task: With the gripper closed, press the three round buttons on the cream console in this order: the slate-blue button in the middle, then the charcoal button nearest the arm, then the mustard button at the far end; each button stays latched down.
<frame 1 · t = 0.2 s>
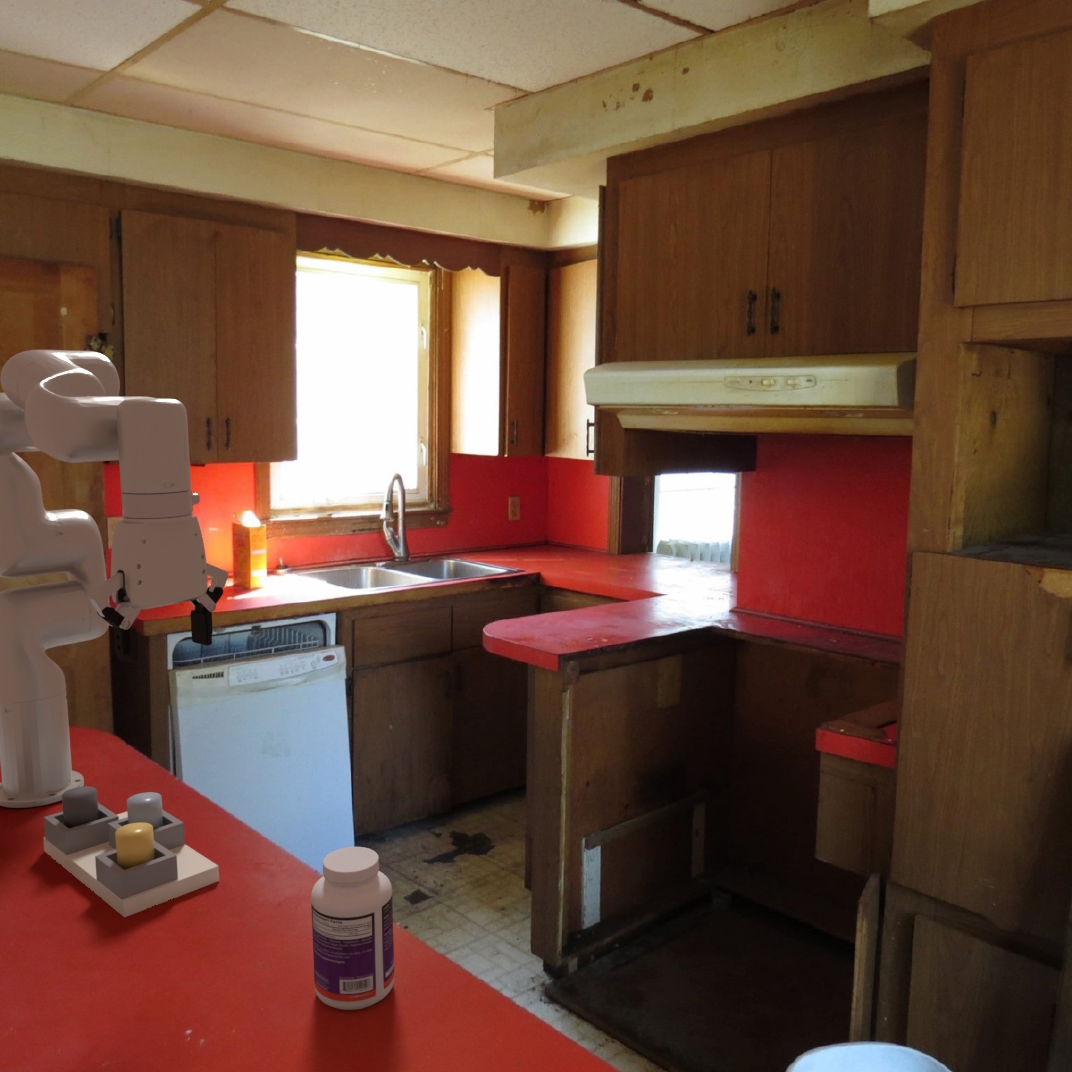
hand: (166, 652, 118), 30 cm above the kitchen counter, tool pointing down, fingers open, 9 cm apart
console: (129, 865, 129), on the kitchen counter
mustard button: (135, 845, 121), point 6 cm above the kitchen counter, slide at 0.0 cm
pill bottle: (354, 992, 103), on the kitchen counter
charcoal button: (80, 807, 132), point 6 cm above the kitchen counter, slide at 0.0 cm
slate button: (145, 813, 130), point 6 cm above the kitchen counter, slide at 0.0 cm
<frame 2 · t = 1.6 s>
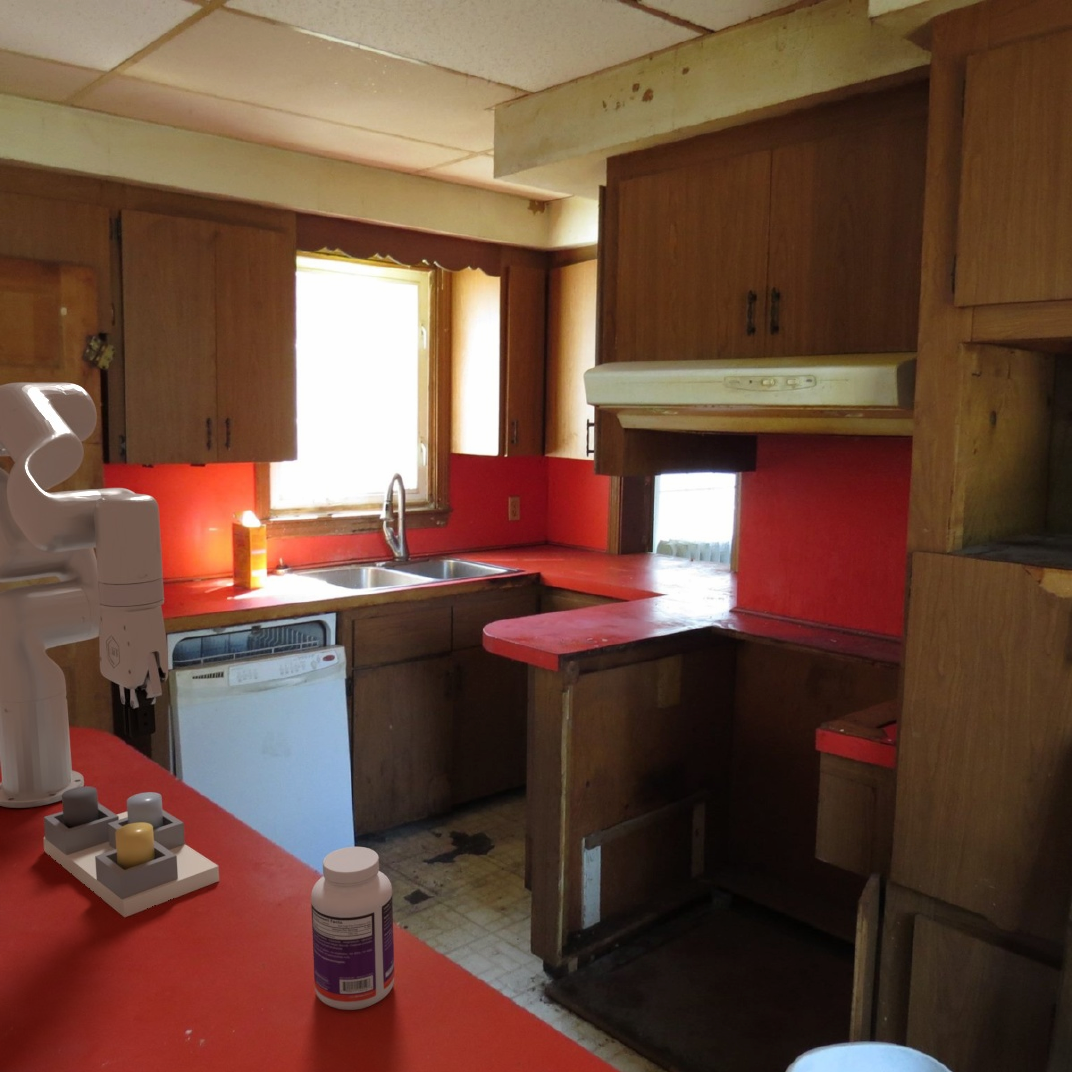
hand: (140, 733, 128), 17 cm above the kitchen counter, tool pointing down, fingers closed
nothing on the kitchen counter moved.
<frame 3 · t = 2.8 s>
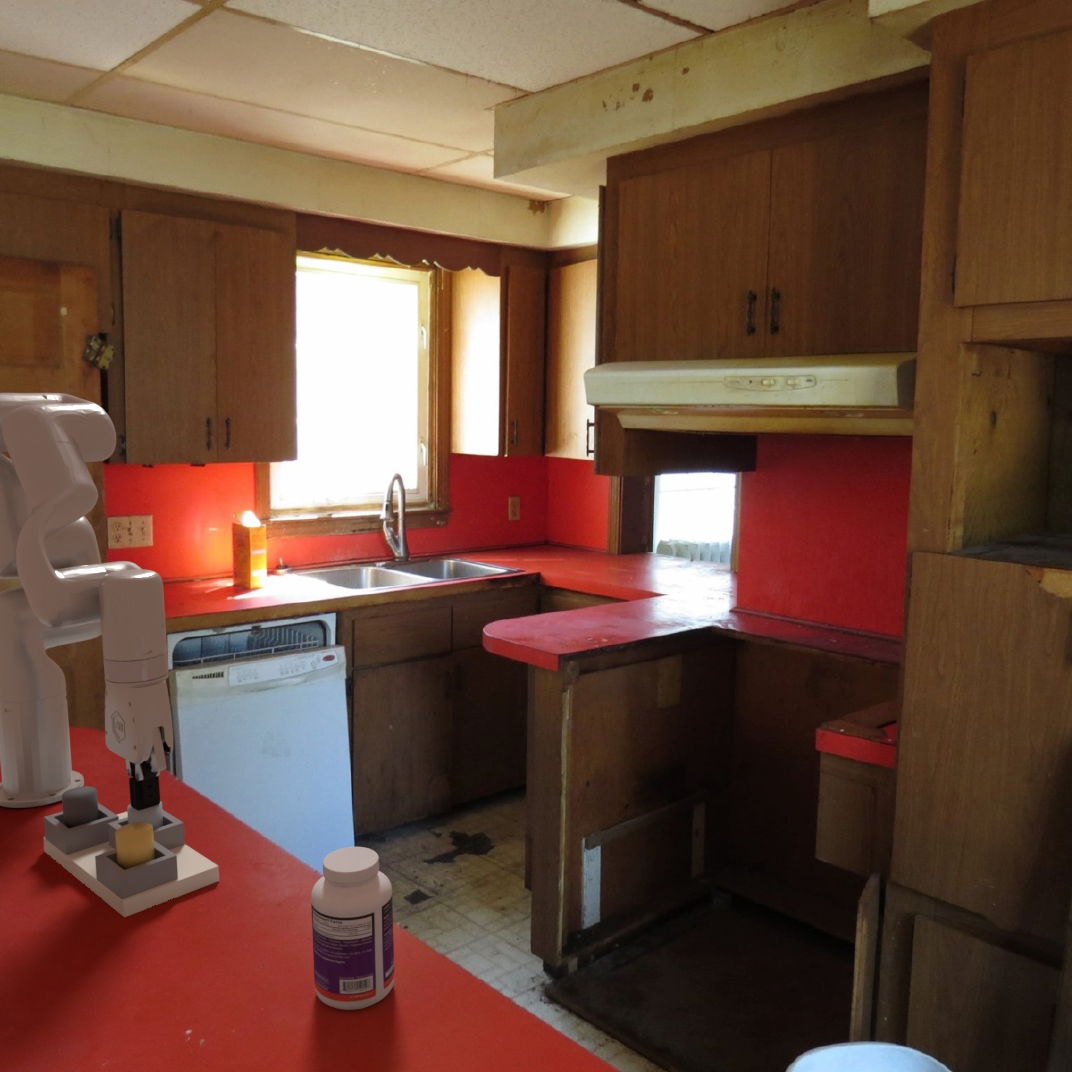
hand: (145, 805, 130), 7 cm above the kitchen counter, tool pointing down, fingers closed
slate button: (145, 819, 130), point 5 cm above the kitchen counter, slide at 0.9 cm, touching gripper
everything else where it was.
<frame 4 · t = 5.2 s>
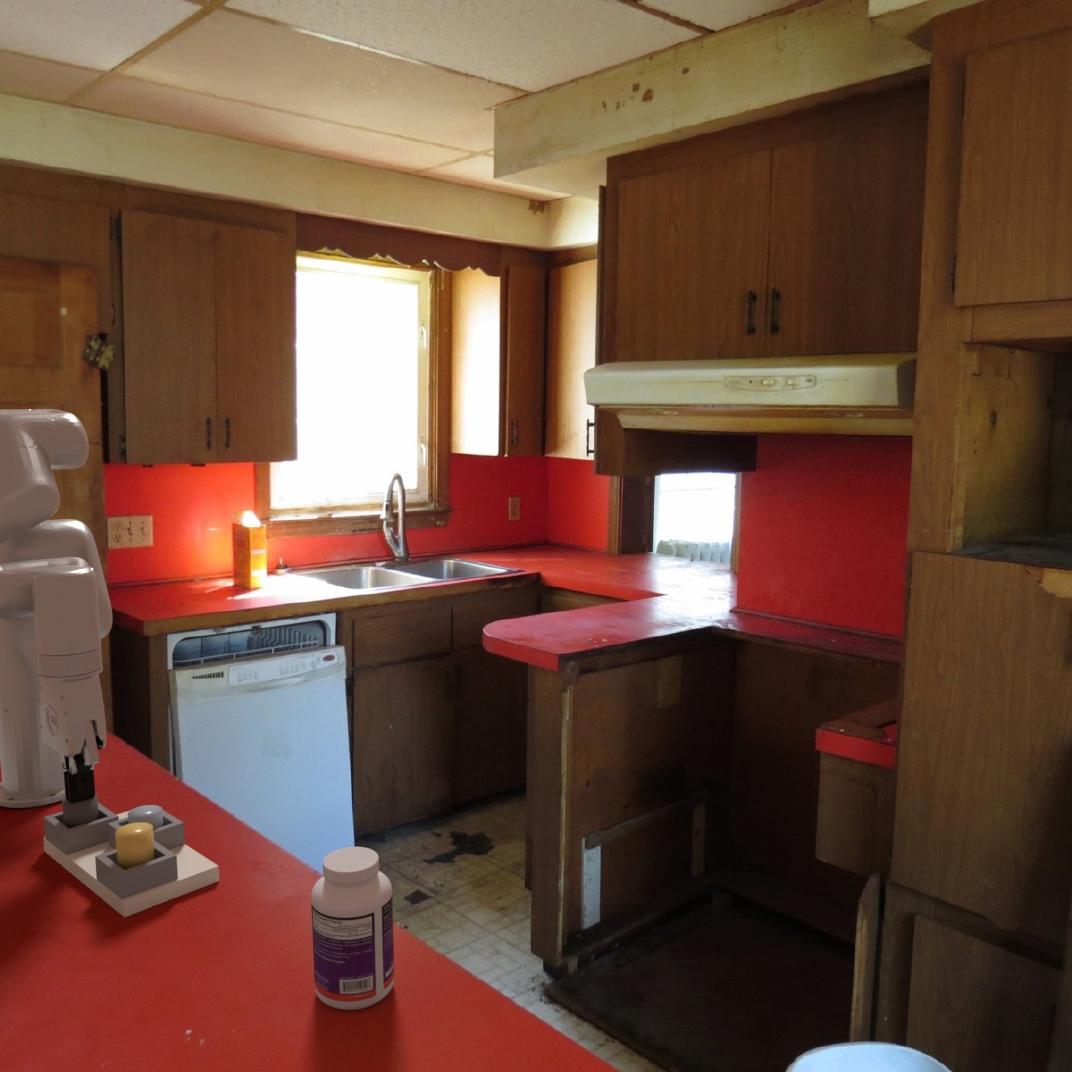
hand: (80, 798, 131), 8 cm above the kitchen counter, tool pointing down, fingers closed
charcoal button: (80, 812, 132), point 6 cm above the kitchen counter, slide at 0.7 cm, touching gripper
slate button: (145, 826, 130), point 5 cm above the kitchen counter, slide at 1.8 cm
everything else where it was.
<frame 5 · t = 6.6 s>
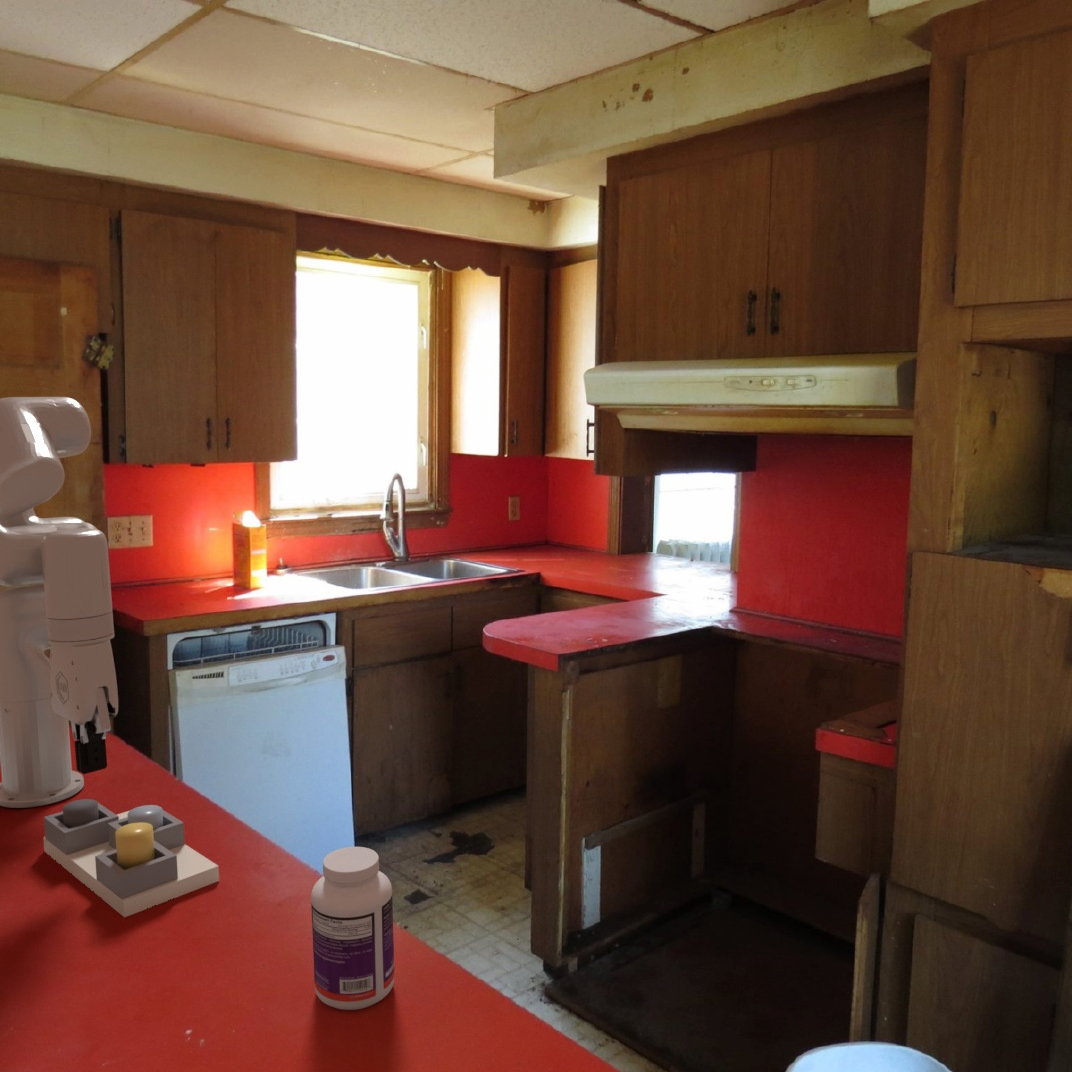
hand: (92, 769, 127), 13 cm above the kitchen counter, tool pointing down, fingers closed
charcoal button: (81, 820, 132), point 5 cm above the kitchen counter, slide at 1.8 cm
everything else where it was.
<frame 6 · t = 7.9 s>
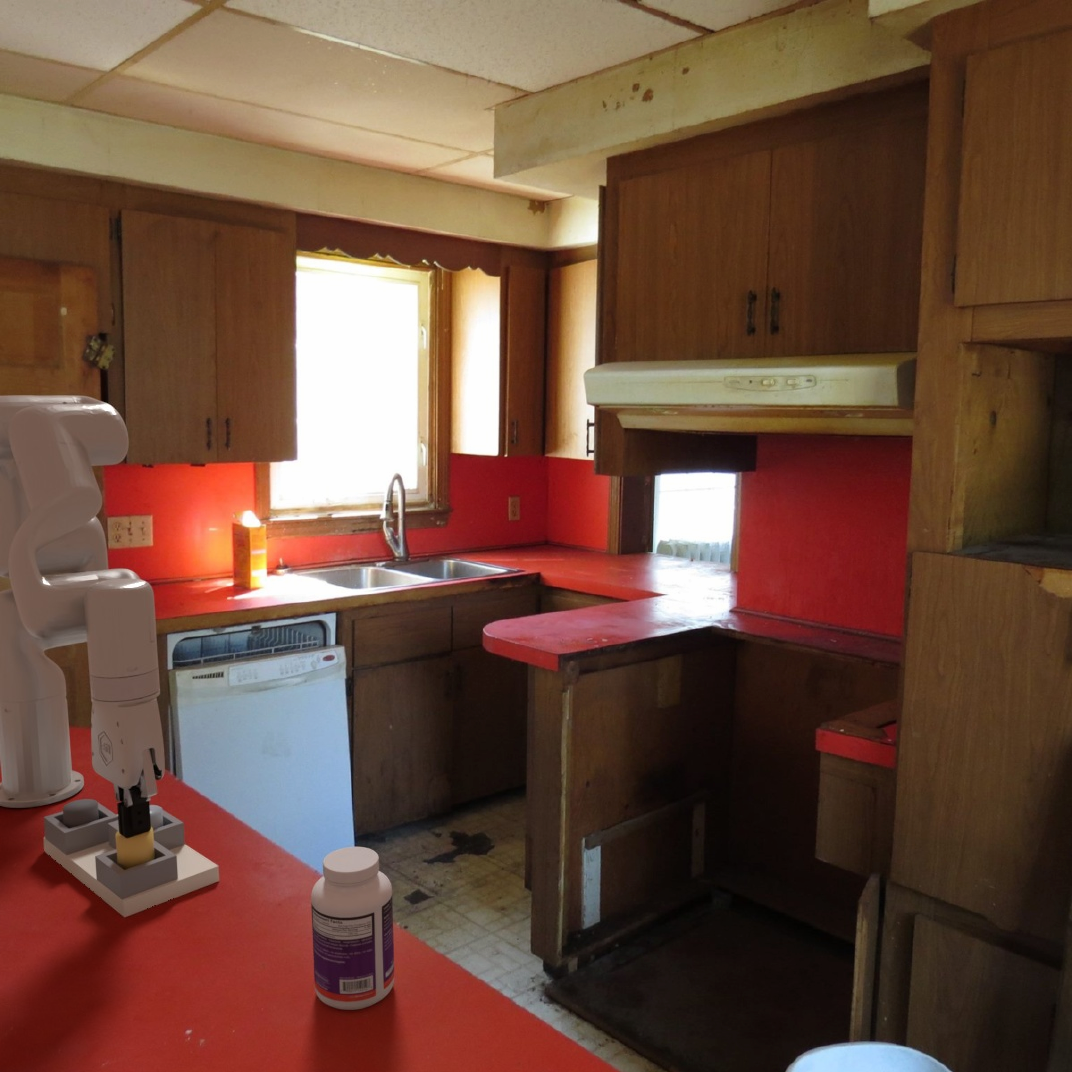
hand: (135, 832, 120), 8 cm above the kitchen counter, tool pointing down, fingers closed
mustard button: (135, 847, 121), point 6 cm above the kitchen counter, slide at 0.3 cm, touching gripper
everything else where it was.
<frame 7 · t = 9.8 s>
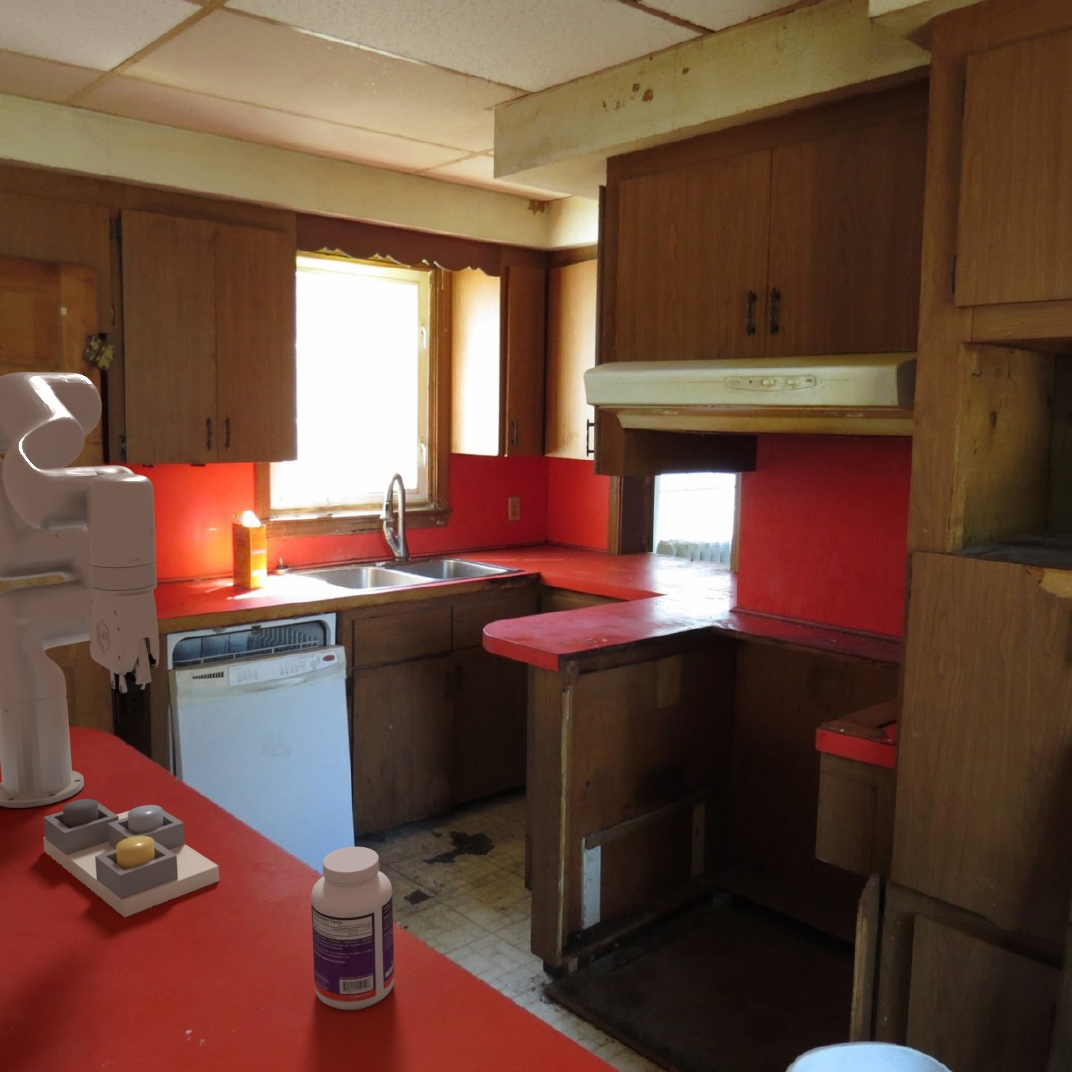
hand: (129, 719, 125), 20 cm above the kitchen counter, tool pointing down, fingers closed
mustard button: (136, 859, 121), point 5 cm above the kitchen counter, slide at 1.7 cm
everything else where it was.
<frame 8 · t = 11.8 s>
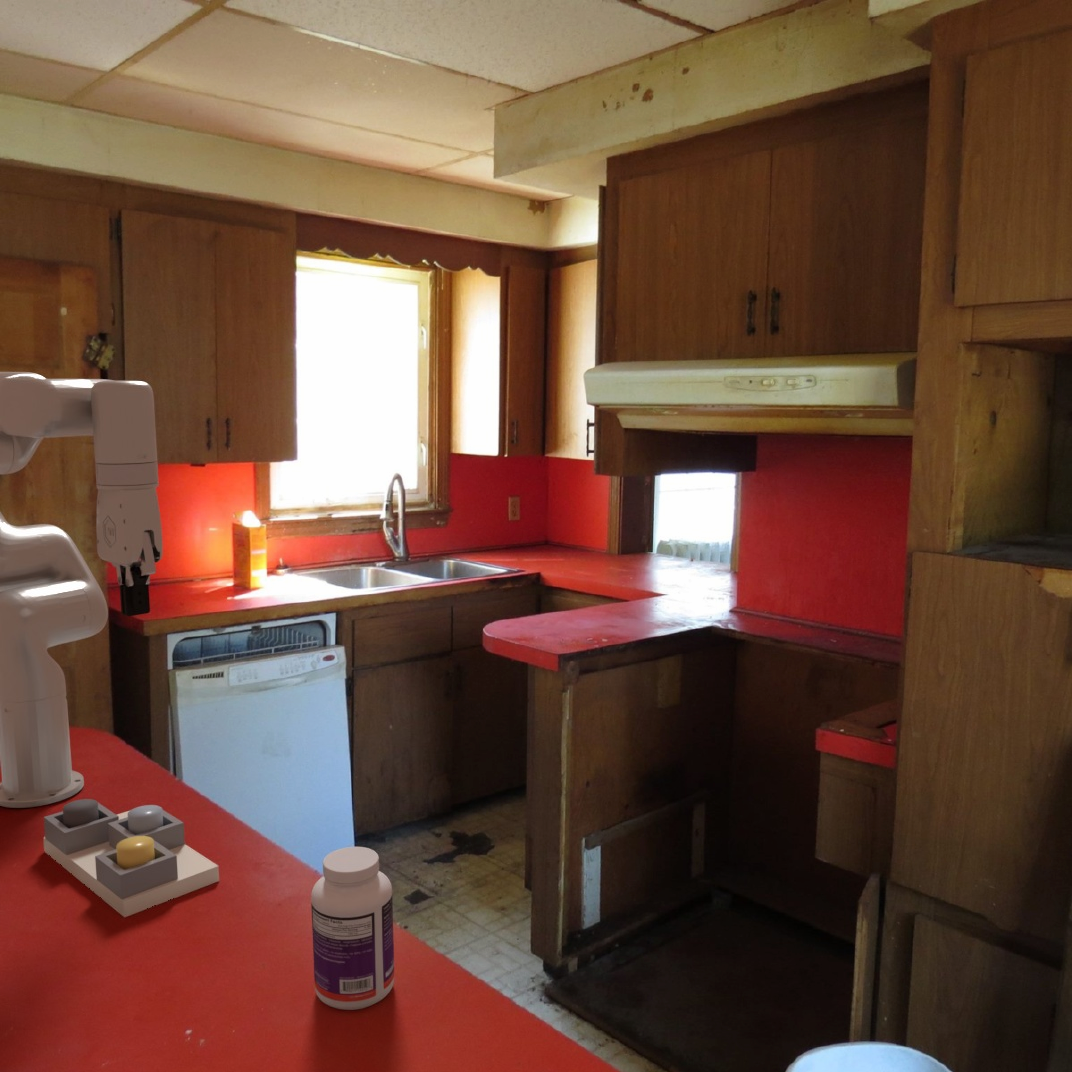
hand: (135, 613, 134), 31 cm above the kitchen counter, tool pointing down, fingers closed
nothing on the kitchen counter moved.
at the end: slate button slide at 1.8 cm; charcoal button slide at 1.8 cm; mustard button slide at 1.7 cm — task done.
